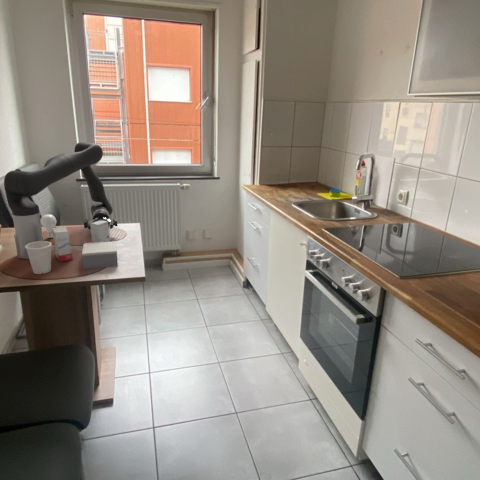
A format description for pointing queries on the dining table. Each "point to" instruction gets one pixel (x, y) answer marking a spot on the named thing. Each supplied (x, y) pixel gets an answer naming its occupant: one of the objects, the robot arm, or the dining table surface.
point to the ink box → (62, 243)
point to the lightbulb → (48, 224)
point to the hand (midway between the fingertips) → (100, 227)
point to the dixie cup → (40, 256)
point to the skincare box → (99, 231)
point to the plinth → (99, 255)
